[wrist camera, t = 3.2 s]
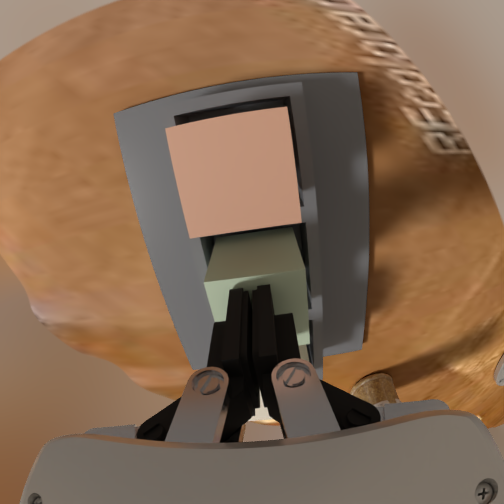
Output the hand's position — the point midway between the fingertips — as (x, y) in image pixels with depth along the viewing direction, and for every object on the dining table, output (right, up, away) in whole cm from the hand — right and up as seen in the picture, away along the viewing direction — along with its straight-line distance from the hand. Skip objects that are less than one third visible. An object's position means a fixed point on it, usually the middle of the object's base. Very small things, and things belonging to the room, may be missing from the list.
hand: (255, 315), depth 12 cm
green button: (0, +2, +4) cm, 5 cm away
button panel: (0, +3, +6) cm, 7 cm away
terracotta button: (-1, +7, +1) cm, 7 cm away
